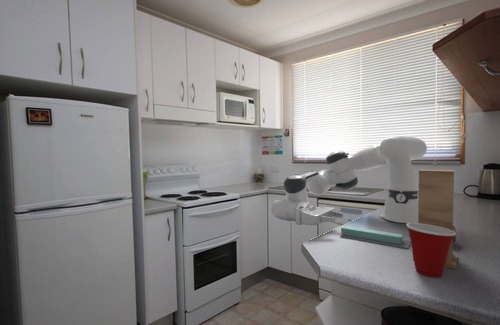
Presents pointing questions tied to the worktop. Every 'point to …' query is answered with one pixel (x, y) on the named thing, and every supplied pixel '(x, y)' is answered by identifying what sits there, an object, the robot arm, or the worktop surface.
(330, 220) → the robot arm
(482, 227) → the worktop surface
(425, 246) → the plastic cup
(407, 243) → the mat
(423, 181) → the stand
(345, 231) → the block
